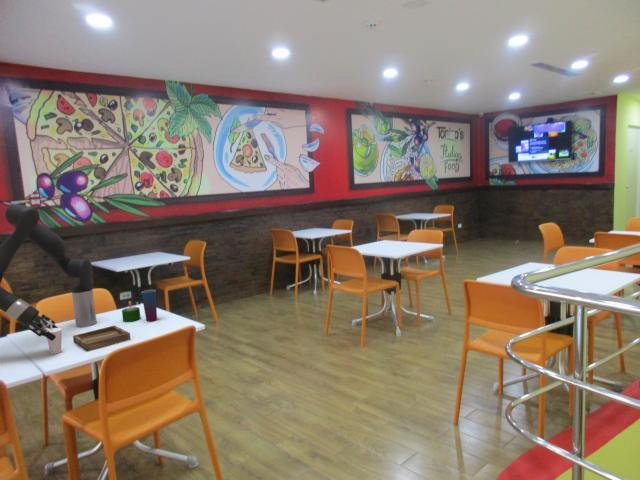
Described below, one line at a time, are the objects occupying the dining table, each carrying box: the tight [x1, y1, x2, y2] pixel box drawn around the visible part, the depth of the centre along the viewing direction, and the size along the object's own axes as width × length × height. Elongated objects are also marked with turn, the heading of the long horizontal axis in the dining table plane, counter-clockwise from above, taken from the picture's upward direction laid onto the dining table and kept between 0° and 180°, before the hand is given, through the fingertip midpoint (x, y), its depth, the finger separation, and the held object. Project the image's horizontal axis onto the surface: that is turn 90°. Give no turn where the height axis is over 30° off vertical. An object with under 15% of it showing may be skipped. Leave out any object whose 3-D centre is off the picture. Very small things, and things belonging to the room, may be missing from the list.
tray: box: [72, 325, 132, 352], centre depth 201 cm, size 18×18×3 cm
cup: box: [141, 289, 158, 323], centre depth 228 cm, size 7×7×15 cm
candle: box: [121, 300, 142, 323], centre depth 232 cm, size 8×8×10 cm
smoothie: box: [46, 319, 63, 355], centre depth 189 cm, size 6×6×14 cm
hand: (57, 335), depth 189 cm, fingers open, 8 cm apart
